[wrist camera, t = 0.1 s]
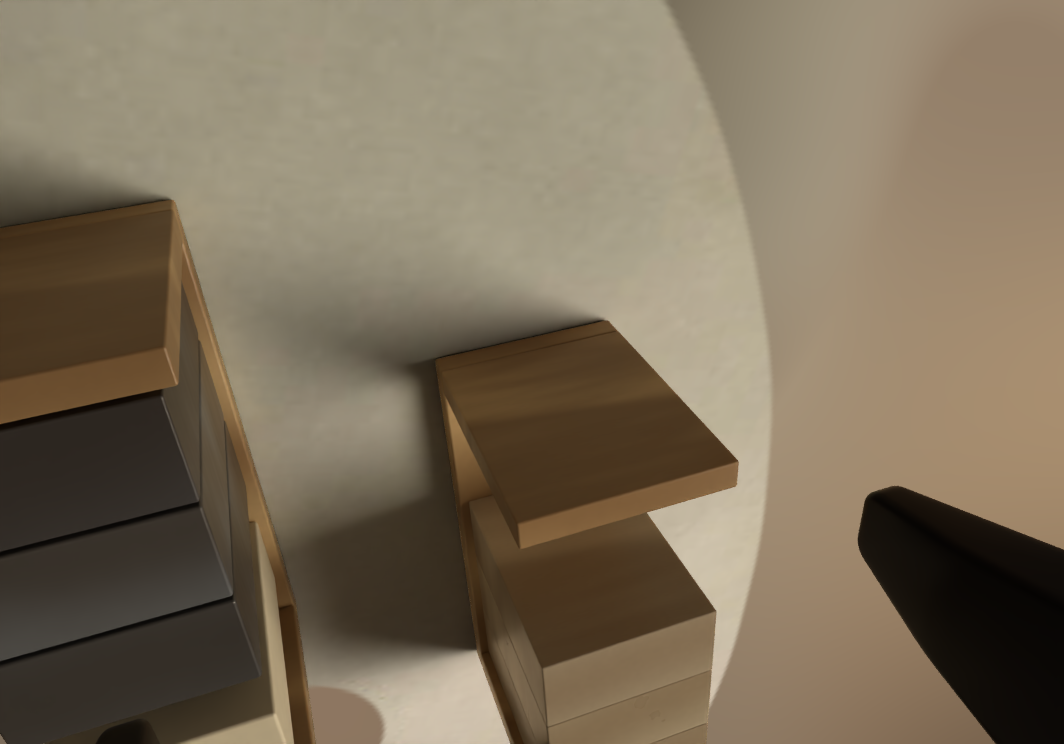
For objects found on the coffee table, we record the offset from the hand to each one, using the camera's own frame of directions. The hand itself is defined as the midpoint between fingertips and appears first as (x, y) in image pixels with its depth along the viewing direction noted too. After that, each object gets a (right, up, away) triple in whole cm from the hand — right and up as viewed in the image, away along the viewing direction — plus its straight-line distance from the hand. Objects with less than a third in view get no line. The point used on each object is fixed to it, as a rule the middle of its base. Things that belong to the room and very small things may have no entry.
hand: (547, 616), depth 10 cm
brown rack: (0, -2, +19) cm, 19 cm away
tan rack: (-11, +1, +13) cm, 17 cm away
